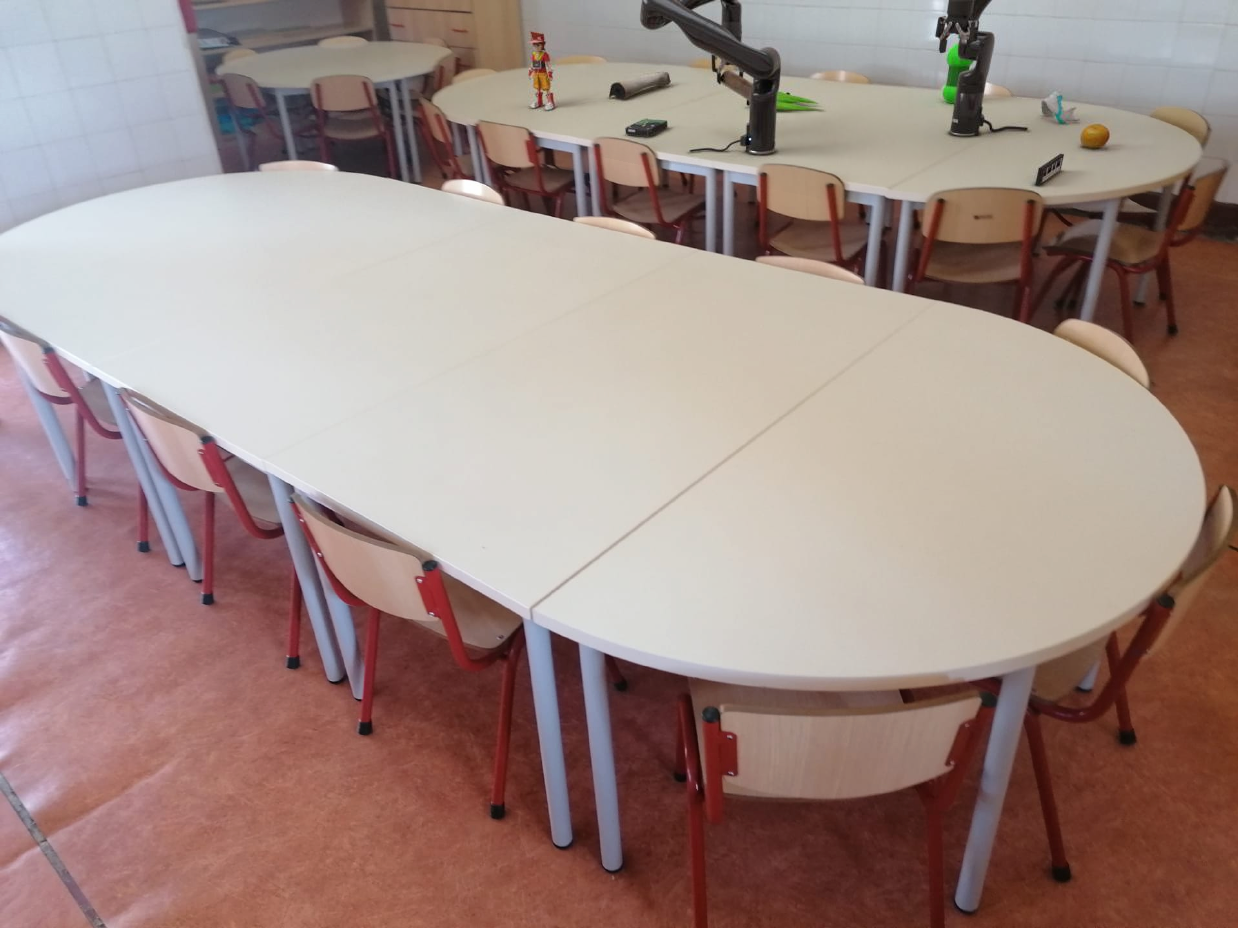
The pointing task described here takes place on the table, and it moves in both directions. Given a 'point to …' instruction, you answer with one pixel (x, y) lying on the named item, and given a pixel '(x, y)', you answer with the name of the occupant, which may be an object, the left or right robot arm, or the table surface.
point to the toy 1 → (541, 71)
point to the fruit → (1095, 136)
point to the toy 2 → (790, 102)
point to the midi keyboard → (1049, 169)
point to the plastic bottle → (954, 73)
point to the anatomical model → (1057, 108)
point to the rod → (736, 83)
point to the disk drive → (646, 127)
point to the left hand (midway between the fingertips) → (729, 83)
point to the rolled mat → (638, 84)
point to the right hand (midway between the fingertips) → (953, 54)
